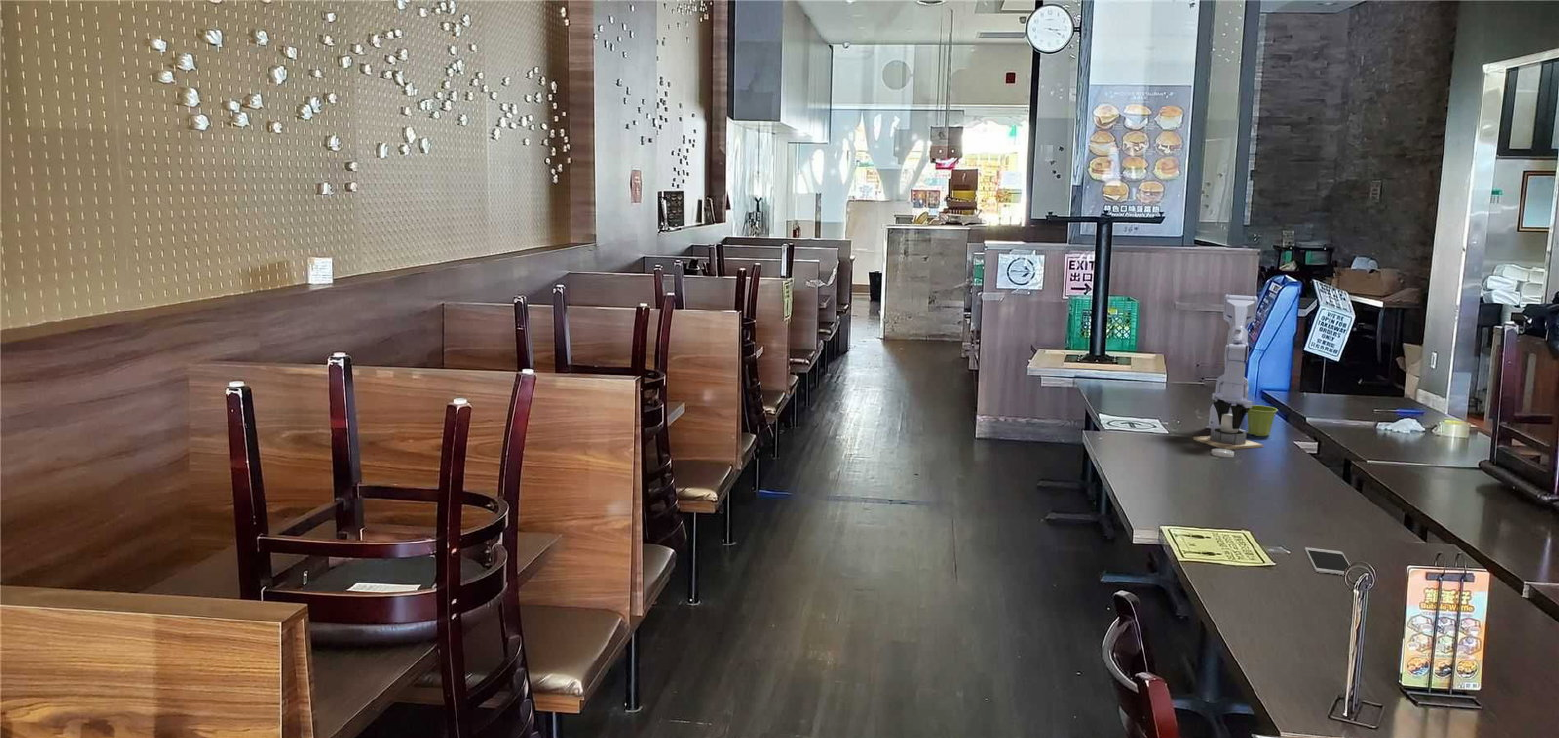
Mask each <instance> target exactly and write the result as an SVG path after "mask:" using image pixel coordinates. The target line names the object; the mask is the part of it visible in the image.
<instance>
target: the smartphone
mask: <svg viewBox="0 0 1559 738" xmlns="http://www.w3.org/2000/svg"><path fill="white" fill-rule="evenodd" d="M1304 552H1305V553H1306V556H1307V557H1308V559H1309V561H1310V563H1311V566H1312V567H1313V569H1314V571H1315V573H1317V572H1319V573H1318V574H1324V573H1332V574H1333V573H1336V574H1339V575H1338V576H1340V575H1341V574H1342V576H1341V577H1345V576H1344V571H1345V569H1346V568H1347V567H1348V566H1349V565H1350V566H1351V563H1349V561H1348V559H1347V558H1346V556H1345V554H1344V553H1343V551H1340V550H1332V549H1324V548H1323V549H1322V548H1316V547H1307V546H1306V547H1304ZM1332 574H1331V575H1332Z"/></svg>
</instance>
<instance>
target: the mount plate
mask: <svg viewBox="0 0 1559 738" xmlns="http://www.w3.org/2000/svg"><path fill="white" fill-rule="evenodd" d="M1192 439H1193V440H1194V441H1197V442H1200V443H1203V444H1207V445H1209V446H1212V447H1216V448H1218V449H1227V450H1231V451H1233V450H1245V449H1246V450H1247V449H1256V448H1257V449H1258V448H1264V444H1261V443H1259V442H1255V441H1251V440H1248V439H1246V444H1240V445H1231V444H1222V443H1218V442H1214V441H1211V440H1210V435H1208V436H1207V435H1205V436H1202V435H1201V436H1193V438H1192Z"/></svg>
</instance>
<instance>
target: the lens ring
mask: <svg viewBox="0 0 1559 738" xmlns="http://www.w3.org/2000/svg"><path fill="white" fill-rule="evenodd" d="M1242 430H1243V429H1242ZM1242 430H1238V433H1227V432H1222V431H1220V428H1212V429H1211V428H1210V435H1209V436H1210V440H1211V441H1214V442H1218V443H1222V444H1231V445H1240V444H1246V440H1247V434H1248V431H1246V430H1245V431H1246V432H1245V431H1242Z"/></svg>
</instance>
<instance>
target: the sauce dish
mask: <svg viewBox="0 0 1559 738" xmlns="http://www.w3.org/2000/svg"><path fill="white" fill-rule="evenodd" d="M1211 455H1212V456H1214V457H1218V458H1225V459H1226V458H1230V459H1231V458H1234V456H1235V451H1233V450H1227V449H1222V448H1212V449H1211Z"/></svg>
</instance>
